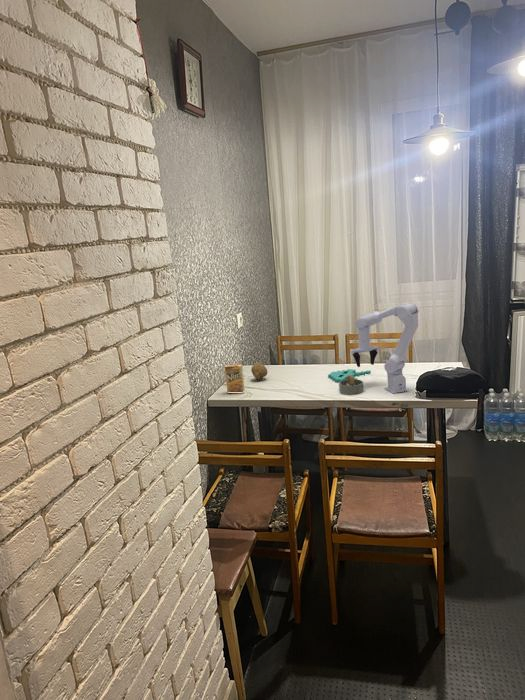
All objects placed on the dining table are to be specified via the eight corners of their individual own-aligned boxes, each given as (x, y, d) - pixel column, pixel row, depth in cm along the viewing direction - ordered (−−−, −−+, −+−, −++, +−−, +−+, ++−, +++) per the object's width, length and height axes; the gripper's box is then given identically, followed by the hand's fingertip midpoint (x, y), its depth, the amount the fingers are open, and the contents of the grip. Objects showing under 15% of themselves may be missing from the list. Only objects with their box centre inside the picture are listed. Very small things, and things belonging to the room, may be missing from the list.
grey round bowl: (367, 392, 247) (366, 383, 246) (345, 396, 245) (344, 387, 244) (357, 386, 258) (357, 377, 257) (336, 389, 256) (335, 381, 255)
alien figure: (370, 374, 278) (337, 372, 288) (370, 370, 277) (337, 368, 288) (358, 385, 261) (323, 382, 272) (358, 381, 261) (323, 378, 271)
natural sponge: (267, 376, 290) (265, 360, 288) (269, 381, 281) (267, 364, 279) (251, 378, 289) (250, 362, 287) (253, 383, 280) (251, 366, 278)
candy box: (227, 394, 264) (224, 366, 261) (229, 391, 268) (226, 364, 265) (243, 393, 263) (240, 366, 259) (245, 391, 267) (242, 363, 263)
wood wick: (354, 390, 249) (354, 377, 248) (351, 390, 249) (351, 377, 247) (351, 387, 253) (350, 374, 252) (348, 388, 253) (347, 375, 251)
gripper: (373, 336, 259) (374, 361, 262) (347, 340, 256) (349, 365, 259) (380, 339, 253) (380, 364, 256) (353, 342, 249) (354, 368, 253)
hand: (365, 365), depth 257 cm, fingers open, 7 cm apart
